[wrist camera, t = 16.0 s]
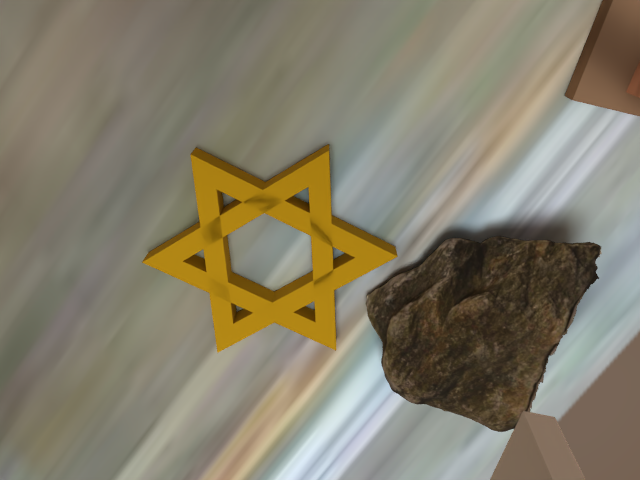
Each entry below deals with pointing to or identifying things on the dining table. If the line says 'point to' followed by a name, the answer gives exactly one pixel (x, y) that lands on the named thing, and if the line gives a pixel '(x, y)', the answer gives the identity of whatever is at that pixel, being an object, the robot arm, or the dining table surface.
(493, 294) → the rock
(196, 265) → the star of david
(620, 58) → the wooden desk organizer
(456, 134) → the dining table surface
